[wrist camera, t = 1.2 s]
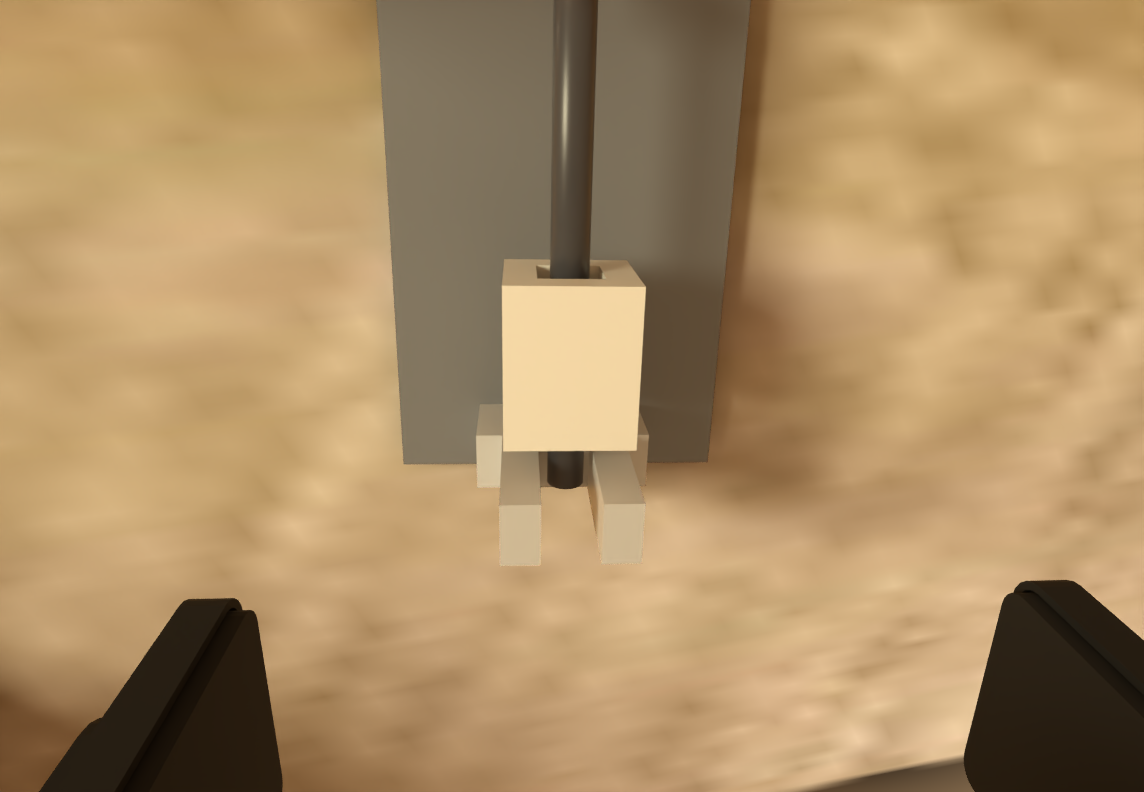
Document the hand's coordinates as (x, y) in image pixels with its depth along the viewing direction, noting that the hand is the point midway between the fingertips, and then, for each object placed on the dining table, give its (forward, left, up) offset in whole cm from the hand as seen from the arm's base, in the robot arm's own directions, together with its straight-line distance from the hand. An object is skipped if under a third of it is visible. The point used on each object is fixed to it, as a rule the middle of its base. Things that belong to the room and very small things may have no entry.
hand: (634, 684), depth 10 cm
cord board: (+6, 0, -21) cm, 22 cm away
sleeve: (0, 0, -17) cm, 17 cm away
